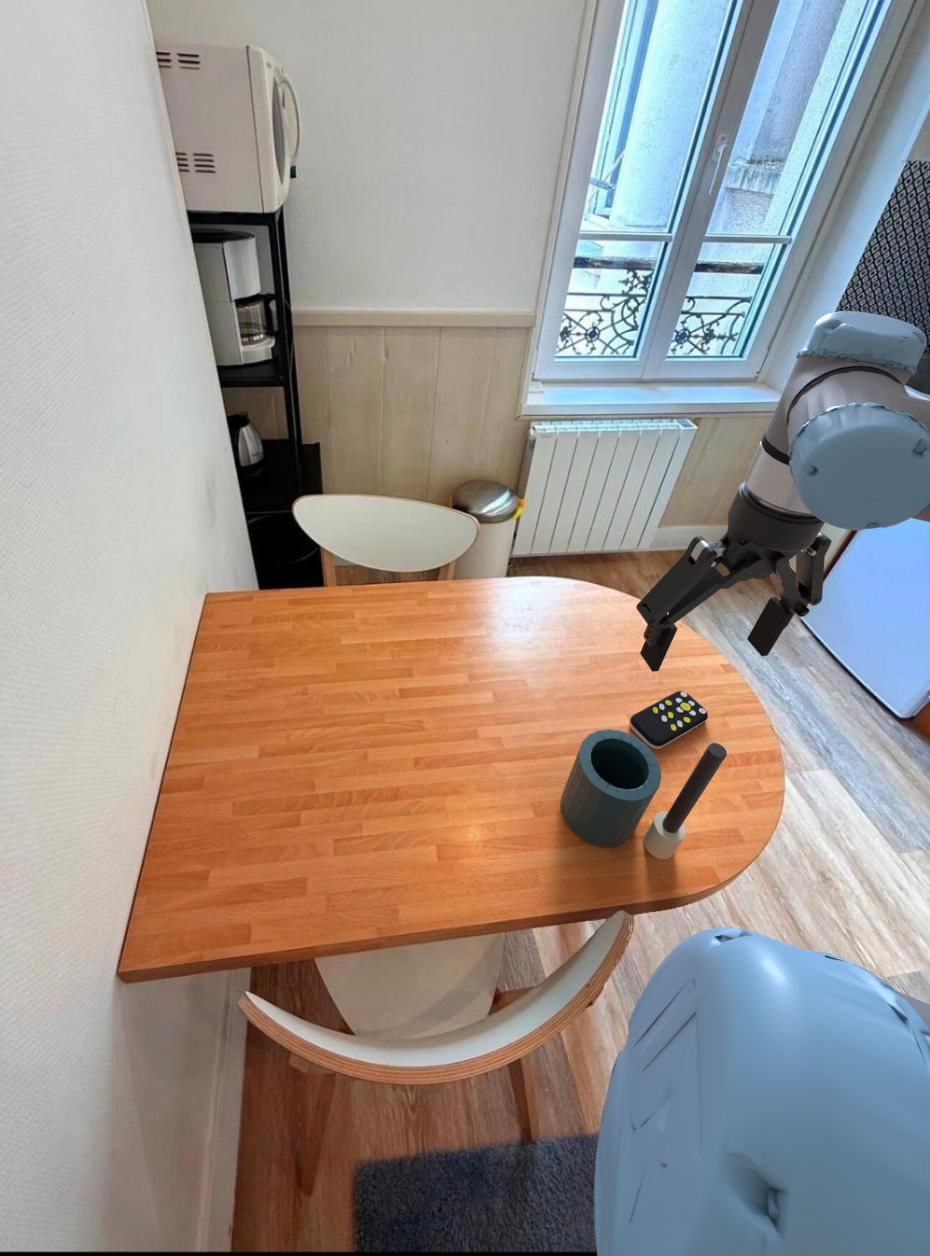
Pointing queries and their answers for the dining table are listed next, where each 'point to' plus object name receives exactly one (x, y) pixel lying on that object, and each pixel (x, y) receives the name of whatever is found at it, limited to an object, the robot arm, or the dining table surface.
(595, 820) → the jar
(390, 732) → the dining table surface
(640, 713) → the remote control
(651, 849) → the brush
